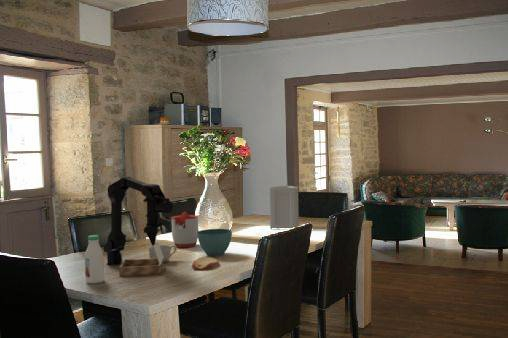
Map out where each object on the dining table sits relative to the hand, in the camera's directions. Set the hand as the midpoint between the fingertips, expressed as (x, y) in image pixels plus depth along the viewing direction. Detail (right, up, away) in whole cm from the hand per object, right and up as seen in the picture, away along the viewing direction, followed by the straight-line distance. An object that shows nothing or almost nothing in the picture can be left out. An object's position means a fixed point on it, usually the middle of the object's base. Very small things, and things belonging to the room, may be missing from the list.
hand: (153, 245), depth 251 cm
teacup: (+1, -11, +20) cm, 23 cm away
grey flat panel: (+2, -3, 0) cm, 4 cm away
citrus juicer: (+7, -9, +58) cm, 59 cm away
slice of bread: (+23, -12, +10) cm, 27 cm away
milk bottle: (-22, -14, -17) cm, 31 cm away
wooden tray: (-5, -12, 0) cm, 13 cm away
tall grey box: (+69, -5, +116) cm, 135 cm away
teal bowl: (+26, -10, +34) cm, 44 cm away
